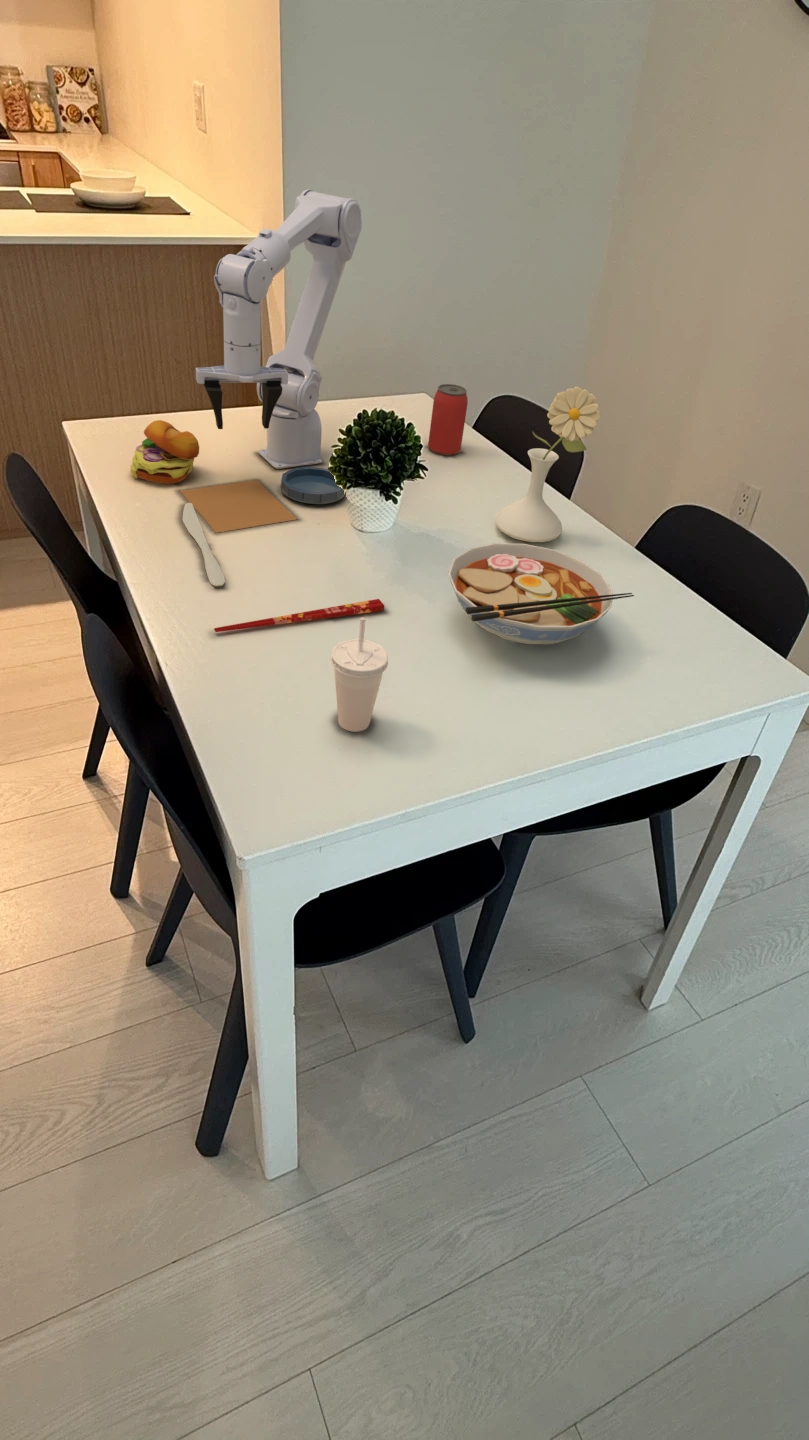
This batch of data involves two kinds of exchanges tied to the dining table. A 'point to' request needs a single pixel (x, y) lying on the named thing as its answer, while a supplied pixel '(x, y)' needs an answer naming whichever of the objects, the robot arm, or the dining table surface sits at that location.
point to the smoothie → (357, 679)
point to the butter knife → (202, 545)
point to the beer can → (448, 419)
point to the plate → (311, 485)
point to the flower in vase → (531, 514)
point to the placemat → (237, 506)
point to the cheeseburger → (165, 454)
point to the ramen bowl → (529, 592)
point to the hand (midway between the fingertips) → (242, 426)
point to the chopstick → (312, 615)
